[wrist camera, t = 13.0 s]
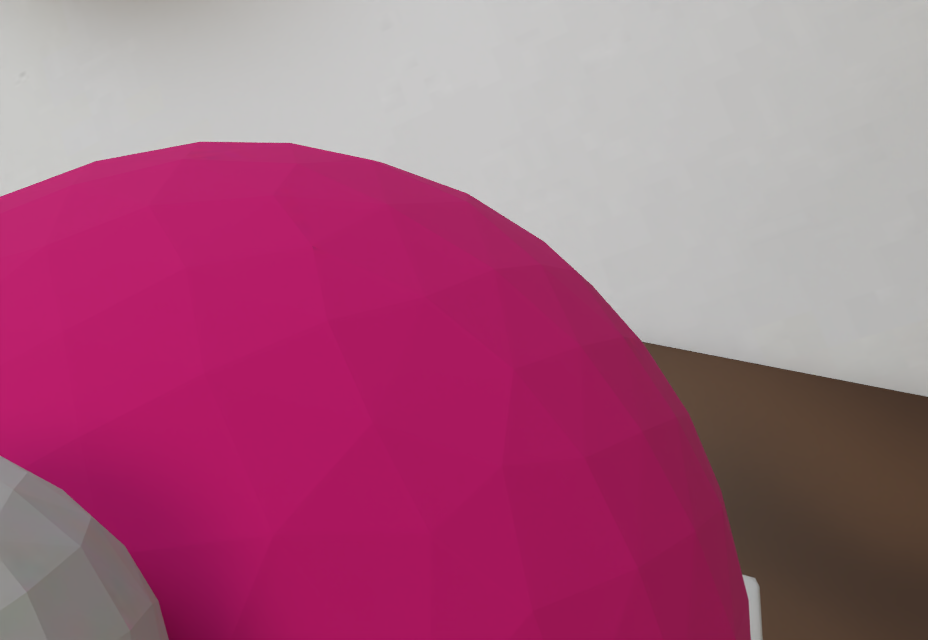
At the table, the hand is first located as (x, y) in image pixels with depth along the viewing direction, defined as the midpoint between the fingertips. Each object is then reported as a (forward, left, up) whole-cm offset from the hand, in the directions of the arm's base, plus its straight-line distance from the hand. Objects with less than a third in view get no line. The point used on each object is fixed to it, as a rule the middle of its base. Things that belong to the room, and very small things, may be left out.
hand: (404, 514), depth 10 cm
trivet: (+1, -10, -24) cm, 27 cm away
